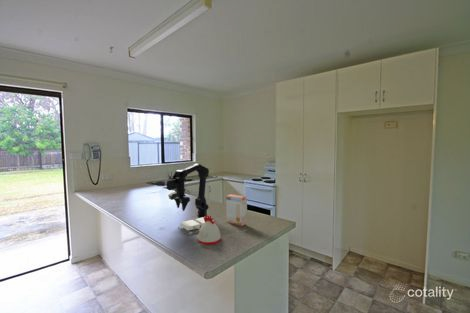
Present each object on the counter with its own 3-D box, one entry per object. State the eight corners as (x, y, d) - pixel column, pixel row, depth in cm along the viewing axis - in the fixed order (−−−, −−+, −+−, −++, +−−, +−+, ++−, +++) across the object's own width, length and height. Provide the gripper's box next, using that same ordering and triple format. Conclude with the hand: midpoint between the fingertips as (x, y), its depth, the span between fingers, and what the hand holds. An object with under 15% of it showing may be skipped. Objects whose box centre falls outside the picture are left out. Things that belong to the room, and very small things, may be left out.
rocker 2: (205, 219, 162) (205, 216, 162) (214, 224, 152) (214, 220, 152) (194, 222, 157) (194, 218, 157) (203, 227, 147) (203, 223, 147)
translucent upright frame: (246, 224, 159) (246, 196, 158) (241, 227, 154) (241, 197, 153) (231, 220, 167) (231, 193, 166) (226, 222, 163) (226, 195, 162)
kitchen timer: (207, 233, 142) (207, 211, 142) (225, 238, 136) (224, 214, 135) (193, 241, 130) (192, 217, 130) (211, 247, 124) (211, 221, 123)
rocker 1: (192, 222, 156) (192, 219, 156) (200, 227, 146) (200, 224, 146) (180, 225, 150) (180, 221, 150) (188, 230, 140) (188, 227, 140)
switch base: (205, 221, 164) (205, 220, 164) (217, 228, 152) (217, 226, 152) (177, 228, 151) (177, 226, 151) (188, 236, 138) (187, 234, 138)
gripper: (164, 187, 158) (165, 208, 159) (174, 191, 143) (175, 214, 144) (179, 185, 165) (179, 205, 165) (190, 189, 150) (190, 211, 151)
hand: (180, 209), depth 156 cm, fingers open, 9 cm apart
